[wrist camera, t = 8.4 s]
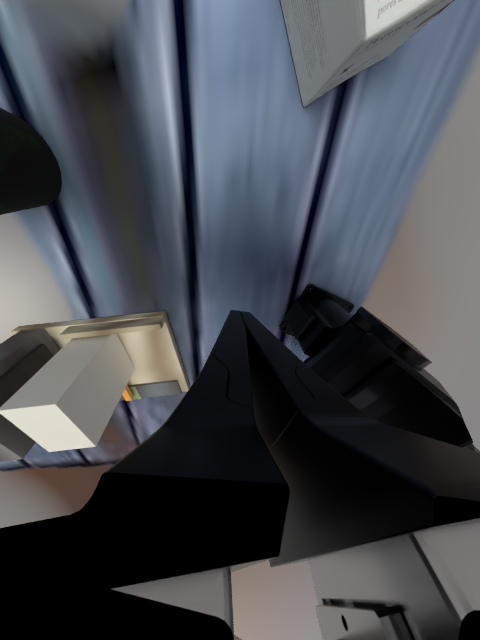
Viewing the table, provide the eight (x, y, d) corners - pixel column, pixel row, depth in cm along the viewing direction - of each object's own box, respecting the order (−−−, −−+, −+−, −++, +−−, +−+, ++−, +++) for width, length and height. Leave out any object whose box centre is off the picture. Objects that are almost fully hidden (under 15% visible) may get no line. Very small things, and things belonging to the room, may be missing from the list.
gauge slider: (114, 329, 21) (55, 404, 14) (147, 391, 27) (117, 468, 19) (77, 333, 21) (-4, 410, 14) (117, 395, 27) (76, 473, 19)
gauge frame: (165, 310, 22) (129, 383, 13) (189, 385, 29) (176, 464, 20) (19, 326, 22) (-111, 410, 13) (78, 397, 28) (17, 483, 20)
